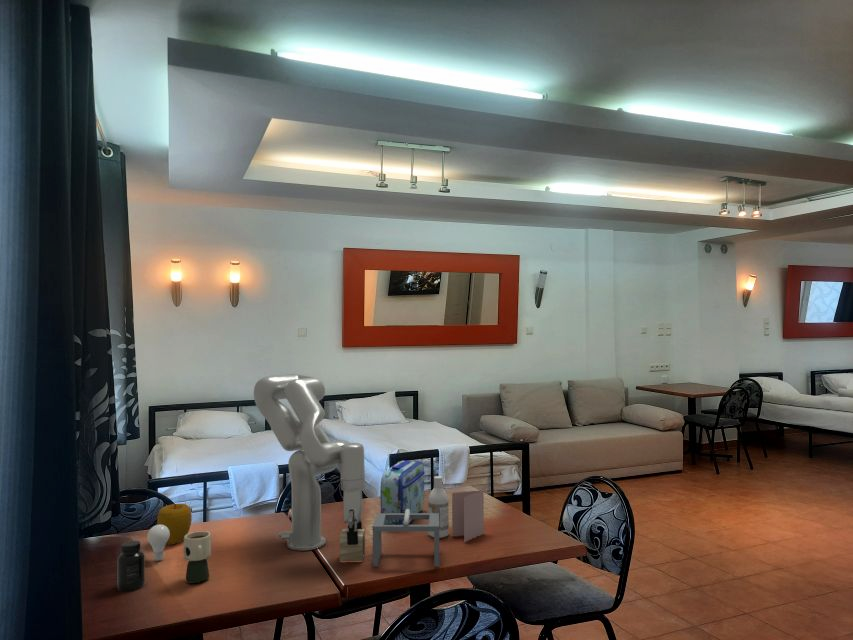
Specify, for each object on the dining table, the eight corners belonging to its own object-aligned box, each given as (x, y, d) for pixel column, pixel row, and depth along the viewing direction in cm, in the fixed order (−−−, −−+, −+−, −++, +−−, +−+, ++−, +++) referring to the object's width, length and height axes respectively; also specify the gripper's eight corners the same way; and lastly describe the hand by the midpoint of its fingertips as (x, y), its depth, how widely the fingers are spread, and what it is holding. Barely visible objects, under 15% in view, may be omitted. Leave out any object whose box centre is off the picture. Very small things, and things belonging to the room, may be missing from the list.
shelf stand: (372, 566, 181) (372, 521, 181) (376, 550, 194) (376, 508, 194) (439, 566, 181) (439, 521, 181) (438, 550, 194) (438, 508, 194)
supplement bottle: (148, 581, 171) (148, 539, 171) (138, 591, 164) (138, 547, 165) (124, 581, 171) (124, 539, 171) (112, 592, 164) (112, 548, 164)
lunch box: (405, 531, 213) (404, 471, 213) (377, 528, 216) (376, 469, 216) (427, 510, 237) (427, 456, 238) (402, 507, 241) (402, 455, 241)
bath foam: (426, 532, 211) (425, 475, 211) (444, 530, 213) (444, 473, 213) (432, 539, 204) (431, 480, 205) (451, 537, 206) (450, 478, 207)
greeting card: (482, 532, 211) (482, 489, 211) (490, 539, 203) (490, 495, 204) (451, 535, 208) (451, 492, 208) (458, 543, 200) (458, 497, 201)
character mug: (181, 576, 175) (181, 531, 175) (207, 571, 178) (207, 527, 178) (186, 590, 165) (186, 542, 165) (213, 585, 168) (213, 538, 169)
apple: (184, 548, 197) (184, 508, 197) (150, 548, 197) (151, 509, 197) (196, 536, 208) (196, 499, 208) (165, 537, 208) (165, 499, 208)
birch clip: (362, 562, 184) (362, 536, 184) (339, 562, 184) (339, 536, 184) (364, 554, 191) (364, 529, 191) (342, 554, 191) (342, 529, 191)
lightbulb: (148, 558, 188) (148, 523, 189) (170, 555, 191) (170, 520, 191) (146, 565, 183) (146, 529, 183) (169, 562, 185) (169, 526, 185)
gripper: (345, 477, 196) (346, 531, 196) (336, 490, 179) (338, 549, 178) (368, 477, 196) (369, 530, 196) (361, 489, 179) (363, 548, 178)
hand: (354, 539), depth 187 cm, fingers open, 9 cm apart
